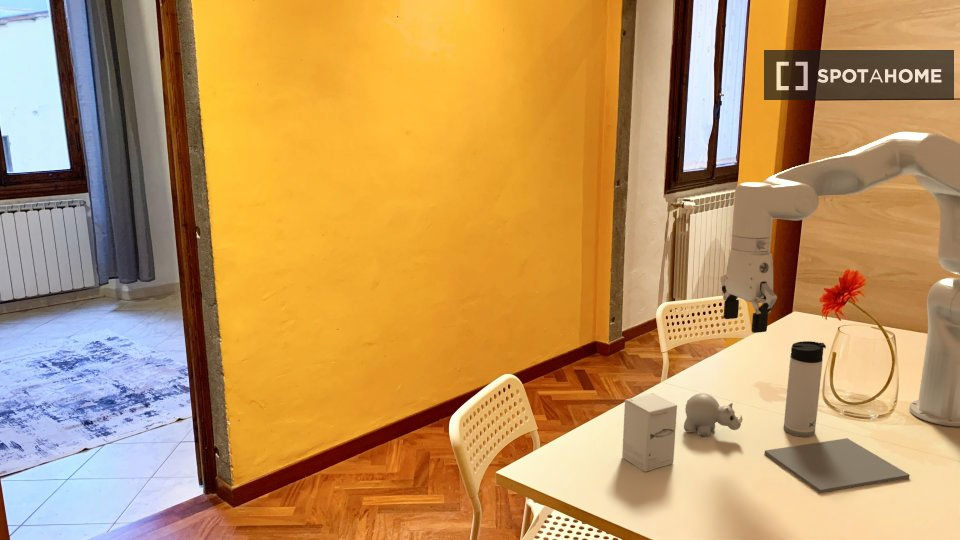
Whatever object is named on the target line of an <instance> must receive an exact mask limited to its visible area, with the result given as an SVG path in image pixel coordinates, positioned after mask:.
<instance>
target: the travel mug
mask: <svg viewBox="0 0 960 540" xmlns="http://www.w3.org/2000/svg"><path fill="white" fill-rule="evenodd" d="M826 348H827V346H826V344H825V343H824V342H819V341H818V342H817V341H812V340H811V341H806V340H804V341H796V342H795V343H794V342H793V343H792V345H791V350H790V352H791V353H790V355H789V356H790V360H789V367H788V368H789V369H788V377H787V385H786V386H787V389H786V397H785V409H784V418H783V419H784V420H783V430H784V431H785V432H786V433H787V434H789V435H792V436H796V437H798V438H809V437H812V436H814V435H815V434H816V425H817V417H818V406H819V397H820V388H821V378H822V369H823V355H824V349H826Z"/></svg>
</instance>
